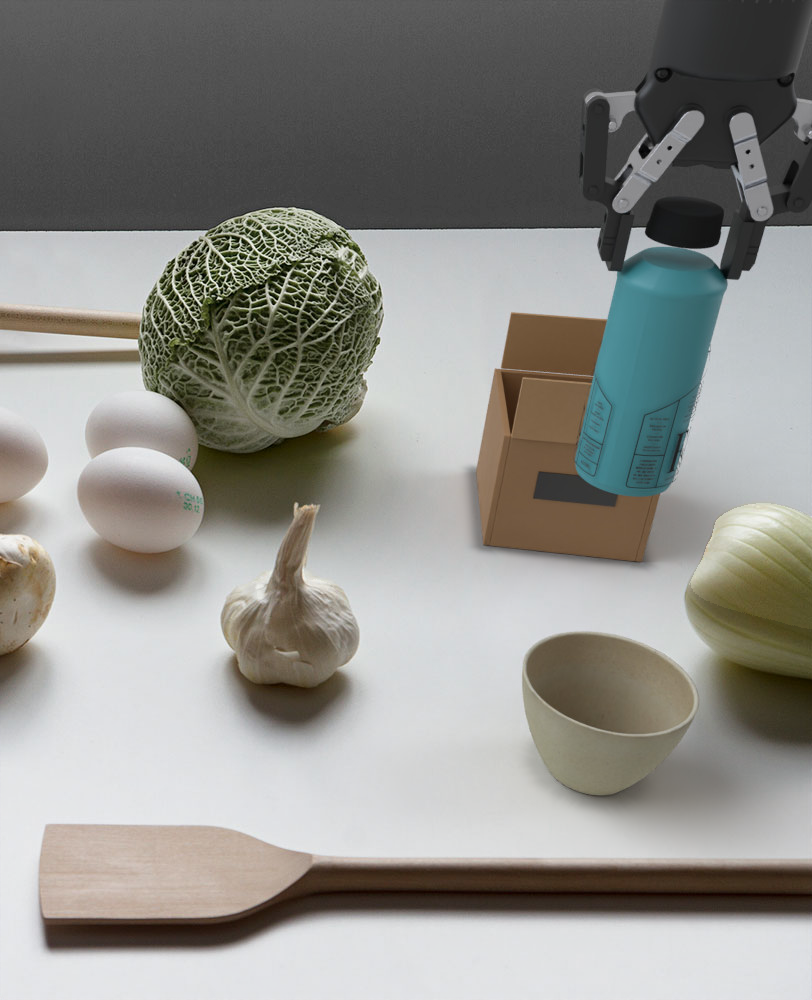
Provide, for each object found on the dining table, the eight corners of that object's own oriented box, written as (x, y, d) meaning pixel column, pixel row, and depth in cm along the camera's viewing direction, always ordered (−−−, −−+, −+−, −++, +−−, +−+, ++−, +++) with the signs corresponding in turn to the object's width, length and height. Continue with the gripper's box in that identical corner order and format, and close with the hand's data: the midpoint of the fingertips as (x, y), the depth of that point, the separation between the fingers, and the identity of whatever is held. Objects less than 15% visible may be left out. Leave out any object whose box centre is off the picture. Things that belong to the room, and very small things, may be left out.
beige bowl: (657, 726, 85) (683, 640, 81) (683, 837, 77) (714, 747, 73) (499, 705, 87) (518, 620, 83) (508, 811, 79) (529, 721, 75)
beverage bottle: (670, 526, 83) (758, 227, 73) (561, 506, 85) (632, 213, 75) (668, 478, 88) (750, 192, 78) (566, 461, 90) (632, 180, 80)
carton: (619, 483, 112) (660, 323, 104) (642, 564, 101) (689, 392, 93) (475, 469, 114) (504, 311, 106) (483, 547, 103) (515, 378, 96)
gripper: (612, -13, 68) (552, 285, 77) (912, -5, 65) (815, 304, 74) (594, -37, 74) (541, 242, 83) (868, -31, 72) (783, 257, 80)
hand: (671, 270), depth 79 cm, fingers closed on beverage bottle, 6 cm apart
